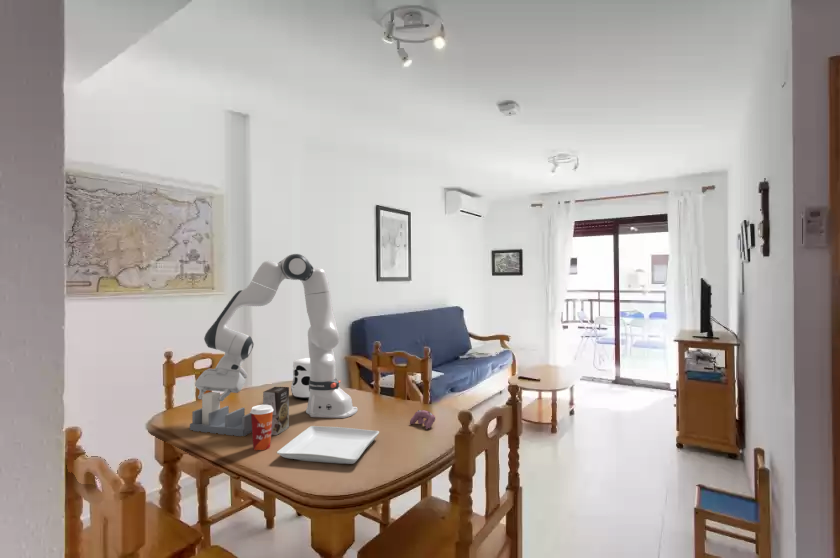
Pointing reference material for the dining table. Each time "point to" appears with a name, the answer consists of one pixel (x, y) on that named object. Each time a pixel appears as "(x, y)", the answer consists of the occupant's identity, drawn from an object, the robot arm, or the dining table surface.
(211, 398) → the cream block
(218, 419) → the rack
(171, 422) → the dining table surface
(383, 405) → the dining table surface
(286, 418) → the coffee box
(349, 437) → the square plate
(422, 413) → the purple arched piece
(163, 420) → the dining table surface
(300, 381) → the milk container
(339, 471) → the dining table surface
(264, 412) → the paper cup
